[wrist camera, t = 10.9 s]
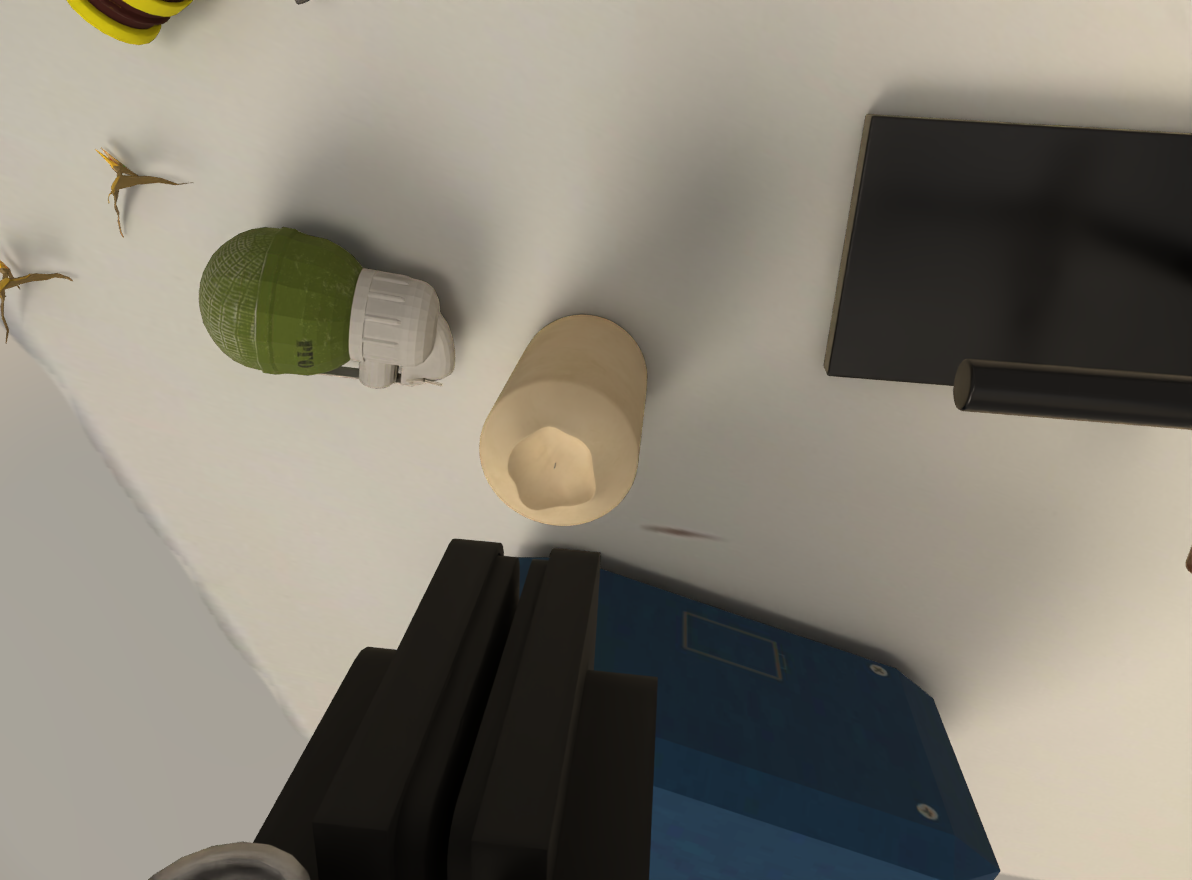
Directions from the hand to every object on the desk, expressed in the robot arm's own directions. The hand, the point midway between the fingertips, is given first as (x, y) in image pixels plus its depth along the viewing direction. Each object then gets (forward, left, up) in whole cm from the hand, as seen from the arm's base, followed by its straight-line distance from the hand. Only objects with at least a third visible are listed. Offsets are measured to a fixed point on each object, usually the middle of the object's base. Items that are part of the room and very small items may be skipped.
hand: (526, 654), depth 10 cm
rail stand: (0, +16, -27) cm, 31 cm away
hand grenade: (+3, -17, -24) cm, 29 cm away
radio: (+21, +5, -27) cm, 35 cm away
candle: (+6, -2, -27) cm, 28 cm away
